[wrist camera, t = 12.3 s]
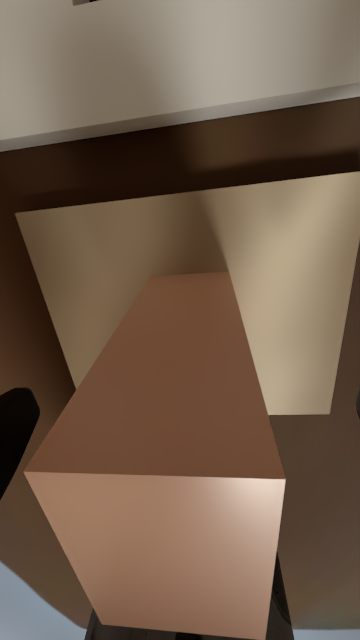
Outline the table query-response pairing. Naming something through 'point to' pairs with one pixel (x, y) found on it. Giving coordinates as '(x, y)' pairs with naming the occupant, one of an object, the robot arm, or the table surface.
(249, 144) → the table surface
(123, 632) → the electronic device
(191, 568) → the plug
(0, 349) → the table surface
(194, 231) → the pad
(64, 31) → the white slotted plate
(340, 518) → the table surface
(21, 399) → the robot arm
